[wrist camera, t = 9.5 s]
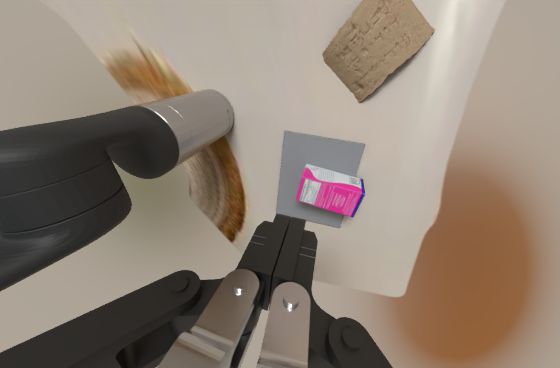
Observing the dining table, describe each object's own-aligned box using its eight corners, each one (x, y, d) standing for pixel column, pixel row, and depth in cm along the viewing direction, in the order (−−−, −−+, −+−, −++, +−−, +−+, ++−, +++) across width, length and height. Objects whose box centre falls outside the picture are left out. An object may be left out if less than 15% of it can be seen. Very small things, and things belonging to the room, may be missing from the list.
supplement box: (352, 202, 45) (299, 185, 47) (363, 178, 42) (306, 161, 43) (352, 219, 41) (294, 200, 42) (365, 194, 37) (302, 174, 39)
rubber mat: (276, 212, 52) (276, 213, 52) (284, 130, 42) (284, 131, 42) (339, 226, 50) (339, 228, 49) (365, 144, 39) (365, 144, 39)
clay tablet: (357, 105, 37) (358, 107, 35) (315, 61, 36) (313, 61, 33) (442, 23, 30) (450, 20, 28) (393, -37, 28) (398, -45, 26)
